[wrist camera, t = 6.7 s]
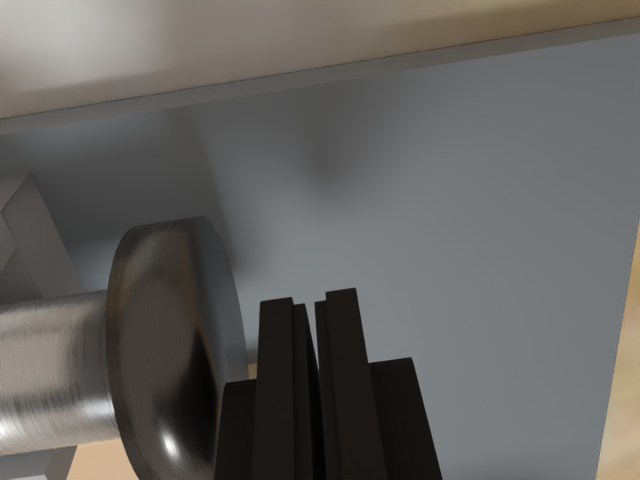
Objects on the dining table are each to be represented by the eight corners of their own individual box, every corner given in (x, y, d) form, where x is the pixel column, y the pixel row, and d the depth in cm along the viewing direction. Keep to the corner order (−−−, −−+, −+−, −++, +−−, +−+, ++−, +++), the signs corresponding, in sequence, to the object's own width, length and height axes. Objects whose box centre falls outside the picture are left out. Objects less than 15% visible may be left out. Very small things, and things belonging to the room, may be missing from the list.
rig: (646, 15, 13) (941, 161, 7) (578, 485, 22) (684, 717, 16) (-434, 188, 14) (-949, 444, 8) (-71, 572, 23) (-191, 822, 17)
